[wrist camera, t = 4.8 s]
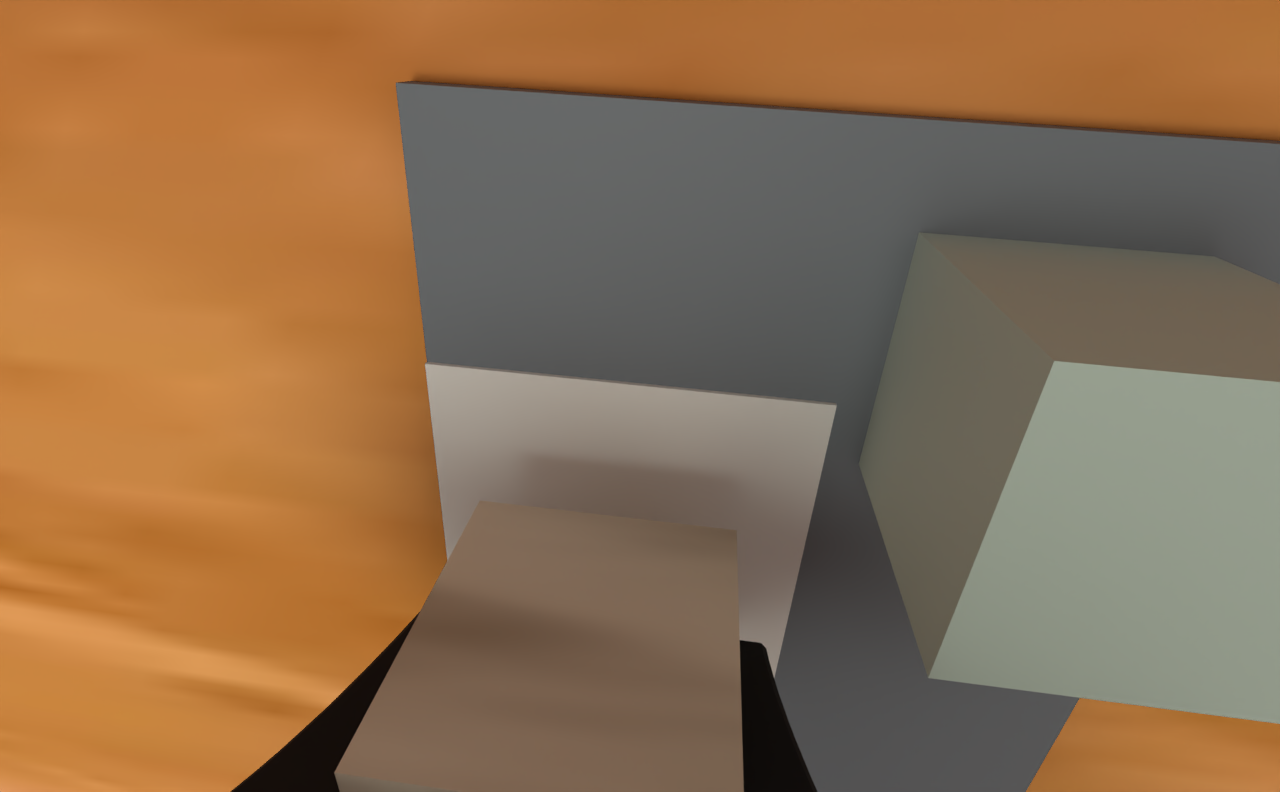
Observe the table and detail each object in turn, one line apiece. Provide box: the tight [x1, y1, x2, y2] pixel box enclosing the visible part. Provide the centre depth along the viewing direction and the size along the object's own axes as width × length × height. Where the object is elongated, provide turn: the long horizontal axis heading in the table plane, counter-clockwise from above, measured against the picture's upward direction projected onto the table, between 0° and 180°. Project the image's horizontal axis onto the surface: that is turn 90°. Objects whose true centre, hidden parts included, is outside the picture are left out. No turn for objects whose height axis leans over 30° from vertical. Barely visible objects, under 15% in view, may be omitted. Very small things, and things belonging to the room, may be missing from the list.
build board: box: [396, 81, 1280, 792], centre depth 14 cm, size 18×15×1 cm
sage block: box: [859, 232, 1280, 724], centre depth 9 cm, size 5×5×5 cm
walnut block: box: [334, 501, 744, 792], centre depth 10 cm, size 5×5×5 cm
